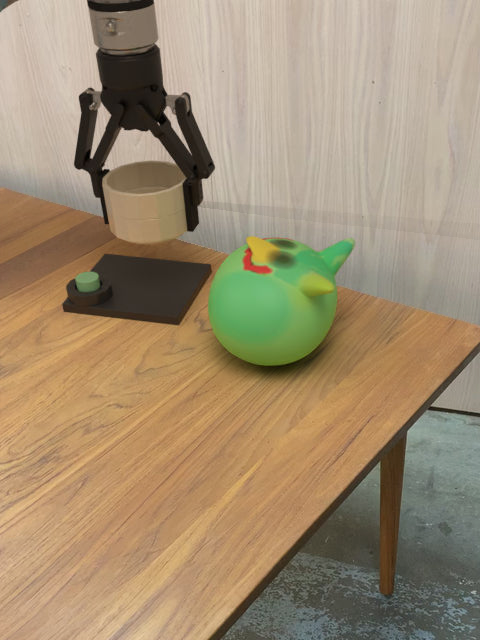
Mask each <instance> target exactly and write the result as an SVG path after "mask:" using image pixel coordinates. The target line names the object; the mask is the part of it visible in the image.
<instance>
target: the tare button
mask: <svg viewBox="0 0 480 640" xmlns="http://www.w3.org/2000/svg"><path fill="white" fill-rule="evenodd" d="M75 280H76V285H77V289H78V290H79V291H81V292H90V291H95V290H97V289H99V288H100V280H99V275H98V274H97V273H95V272H90V271H84V272H79V273H78V274H77V275H76V276H75Z"/></svg>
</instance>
